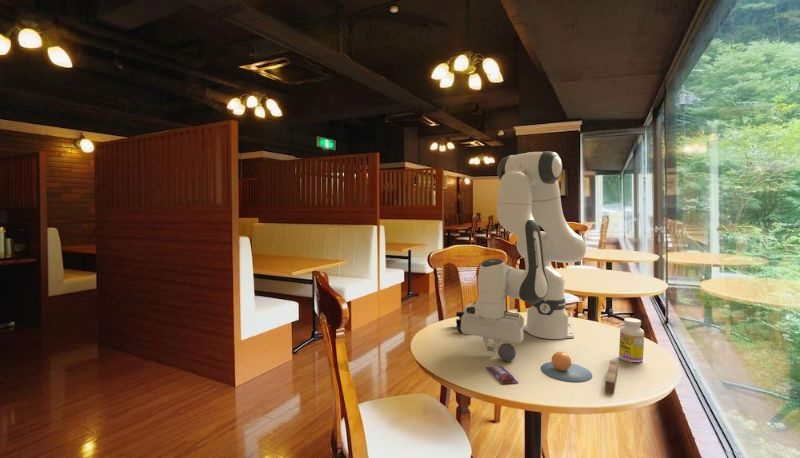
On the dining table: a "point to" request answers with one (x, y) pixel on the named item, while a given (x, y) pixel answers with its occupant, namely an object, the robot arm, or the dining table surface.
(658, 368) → the dining table surface
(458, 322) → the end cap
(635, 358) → the supplement bottle
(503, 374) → the snack package
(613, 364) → the wall
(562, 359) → the object ball
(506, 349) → the dark gray ball
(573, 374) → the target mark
